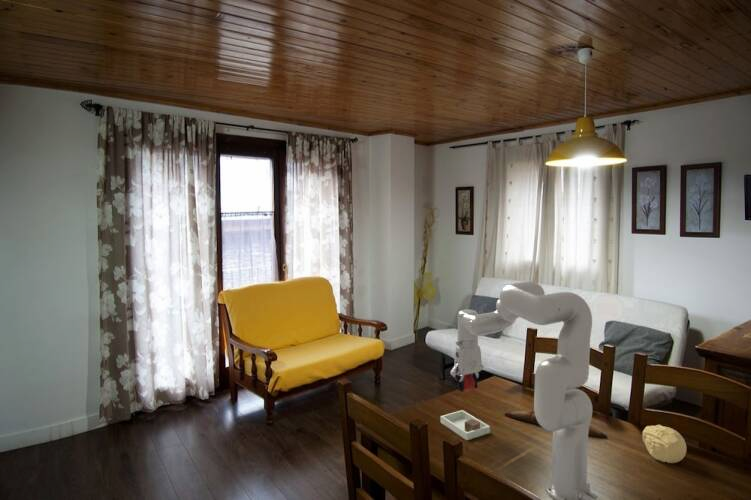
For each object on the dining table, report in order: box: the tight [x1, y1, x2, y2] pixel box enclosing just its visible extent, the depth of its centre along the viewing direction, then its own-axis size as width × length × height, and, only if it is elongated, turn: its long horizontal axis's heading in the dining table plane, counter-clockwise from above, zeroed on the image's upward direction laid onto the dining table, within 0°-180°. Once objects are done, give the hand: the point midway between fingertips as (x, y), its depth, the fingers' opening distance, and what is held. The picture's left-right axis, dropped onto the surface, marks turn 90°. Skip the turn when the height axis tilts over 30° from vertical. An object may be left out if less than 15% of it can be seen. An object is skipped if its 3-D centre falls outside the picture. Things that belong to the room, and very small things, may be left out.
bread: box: [503, 410, 609, 439], centre depth 176 cm, size 38×5×5 cm, turn 59°
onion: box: [462, 374, 475, 393], centre depth 173 cm, size 6×6×8 cm
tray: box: [439, 409, 491, 441], centre depth 175 cm, size 16×11×3 cm
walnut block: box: [465, 419, 480, 432], centre depth 171 cm, size 4×4×4 cm
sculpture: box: [642, 424, 687, 464], centre depth 153 cm, size 12×12×11 cm
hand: (467, 388), depth 173 cm, fingers closed on onion, 5 cm apart
